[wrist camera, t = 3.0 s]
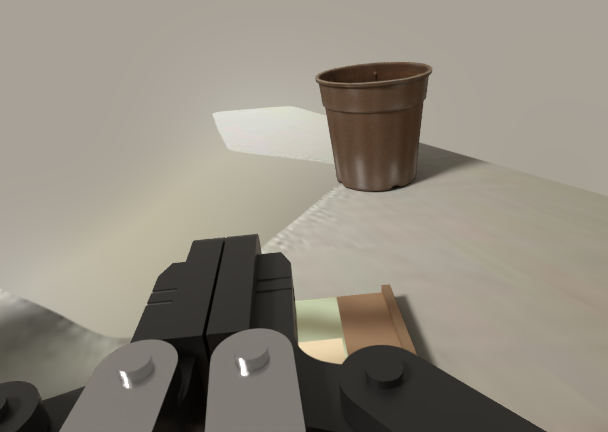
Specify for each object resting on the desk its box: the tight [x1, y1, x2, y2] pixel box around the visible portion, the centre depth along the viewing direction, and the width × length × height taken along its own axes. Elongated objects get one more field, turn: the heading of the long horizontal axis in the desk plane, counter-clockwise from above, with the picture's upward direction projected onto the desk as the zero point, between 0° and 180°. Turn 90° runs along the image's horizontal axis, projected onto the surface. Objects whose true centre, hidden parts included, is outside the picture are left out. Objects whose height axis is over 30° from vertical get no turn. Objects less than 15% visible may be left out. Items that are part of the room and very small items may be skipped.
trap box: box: [295, 285, 417, 358], centre depth 33 cm, size 23×19×2 cm
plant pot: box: [315, 62, 432, 191], centre depth 69 cm, size 16×16×16 cm
